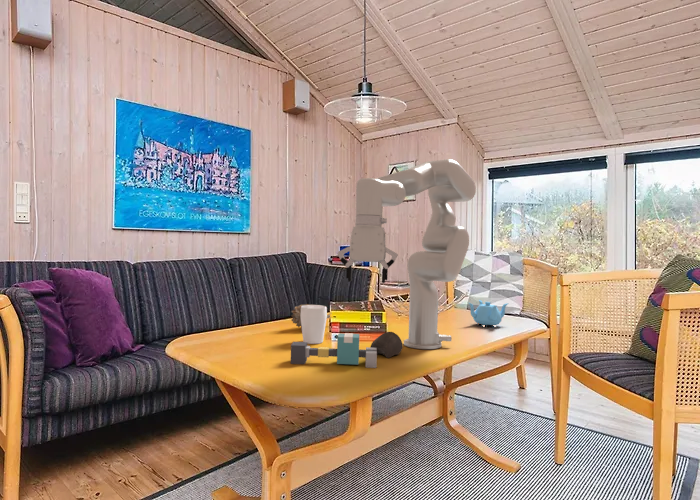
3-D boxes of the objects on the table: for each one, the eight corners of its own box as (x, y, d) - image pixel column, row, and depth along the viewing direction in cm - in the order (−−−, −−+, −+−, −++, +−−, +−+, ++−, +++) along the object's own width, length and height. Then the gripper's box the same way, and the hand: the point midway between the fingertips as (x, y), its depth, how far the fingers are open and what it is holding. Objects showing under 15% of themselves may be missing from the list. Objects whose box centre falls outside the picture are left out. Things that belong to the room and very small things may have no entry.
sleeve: (358, 359, 136) (359, 333, 135) (358, 364, 131) (359, 337, 130) (338, 359, 136) (338, 332, 136) (336, 363, 131) (337, 336, 131)
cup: (322, 345, 154) (323, 309, 154) (296, 343, 156) (297, 307, 156) (329, 339, 163) (330, 305, 163) (304, 338, 165) (305, 304, 165)
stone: (369, 368, 142) (387, 351, 137) (361, 344, 148) (378, 326, 142) (395, 369, 148) (413, 352, 142) (386, 346, 153) (403, 328, 147)
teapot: (466, 325, 197) (466, 301, 197) (479, 321, 207) (480, 298, 207) (495, 330, 189) (496, 305, 189) (508, 325, 199) (508, 301, 199)
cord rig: (376, 361, 136) (376, 343, 136) (376, 367, 130) (376, 349, 129) (293, 358, 137) (294, 340, 137) (289, 364, 130) (290, 346, 130)
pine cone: (301, 333, 173) (301, 306, 172) (285, 329, 179) (285, 303, 179) (343, 326, 188) (344, 302, 188) (327, 323, 195) (328, 299, 195)
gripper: (399, 223, 137) (397, 282, 137) (340, 222, 139) (339, 279, 140) (398, 222, 129) (396, 284, 130) (336, 221, 132) (334, 281, 132)
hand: (366, 281), depth 135 cm, fingers open, 9 cm apart
